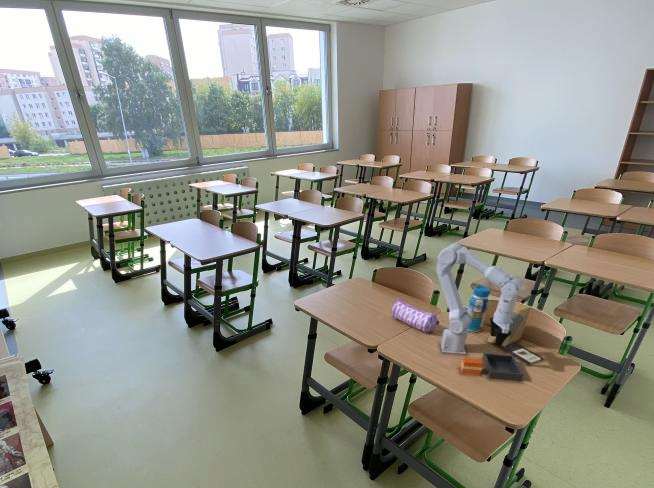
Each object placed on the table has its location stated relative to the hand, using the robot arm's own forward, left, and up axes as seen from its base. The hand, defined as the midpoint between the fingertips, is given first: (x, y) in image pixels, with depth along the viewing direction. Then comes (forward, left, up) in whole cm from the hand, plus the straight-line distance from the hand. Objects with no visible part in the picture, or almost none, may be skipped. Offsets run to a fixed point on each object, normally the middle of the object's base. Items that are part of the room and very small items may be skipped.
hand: (495, 340), depth 156 cm
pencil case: (-30, +26, -10) cm, 41 cm away
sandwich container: (+10, +19, -9) cm, 23 cm away
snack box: (-10, -10, -9) cm, 17 cm away
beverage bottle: (-2, +28, -10) cm, 30 cm away
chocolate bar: (+13, +9, -10) cm, 18 cm away
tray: (+2, -7, -9) cm, 12 cm away
